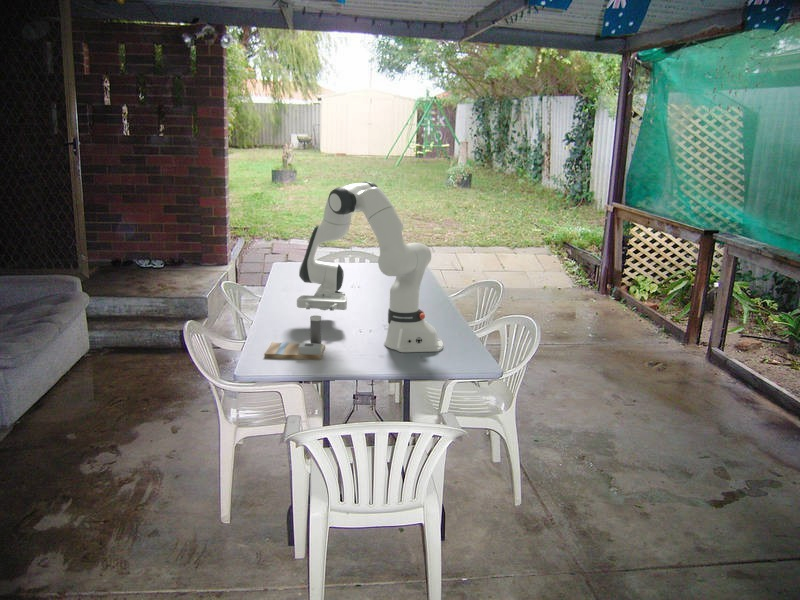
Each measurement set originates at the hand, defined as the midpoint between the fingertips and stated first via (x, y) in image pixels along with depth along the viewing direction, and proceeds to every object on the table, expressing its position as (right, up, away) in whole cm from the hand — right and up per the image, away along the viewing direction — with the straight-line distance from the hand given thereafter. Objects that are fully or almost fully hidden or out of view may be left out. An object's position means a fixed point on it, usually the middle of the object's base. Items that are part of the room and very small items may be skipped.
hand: (319, 308), depth 269 cm
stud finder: (-1, -16, -24) cm, 28 cm away
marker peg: (0, -14, -10) cm, 17 cm away
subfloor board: (-6, -16, -20) cm, 26 cm away
